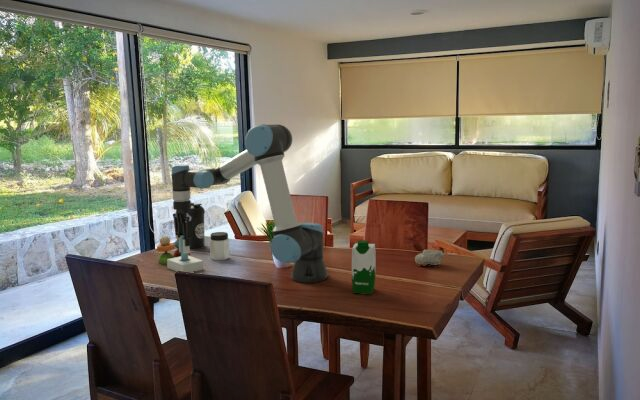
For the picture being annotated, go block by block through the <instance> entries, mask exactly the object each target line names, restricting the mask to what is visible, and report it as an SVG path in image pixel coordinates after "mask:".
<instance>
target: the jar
mask: <svg viewBox="0 0 640 400" xmlns="http://www.w3.org/2000/svg"><path fill="white" fill-rule="evenodd" d="M209 249H210V250H209V251H210V252H209V253H210V259H211V260H213V261H225V260H227V259H229V258H230V239H229V235H228V232H225V231H217V232H212V233H211V232H210V239H209Z"/></svg>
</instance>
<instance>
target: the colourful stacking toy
mask: <svg viewBox="0 0 640 400" xmlns="http://www.w3.org/2000/svg"><path fill="white" fill-rule="evenodd" d="M175 238H176V240H175V241H174V243H172V242H171V238H170V237H169V235H162V236H161V237H160V238H159V243H160V244H158V245H157V246H156V252H163V253H161V254H160V256H159V257H158V262H157V263H158V264H160V265H167V259H171V258H175V257H180V256H181V252H179V238H178V236H177V235H175ZM175 249H176V250H175ZM173 250H175V251H174V252H173V254H172V253H171V252H170V251H173ZM179 255H180V256H179ZM188 256H191V257H194V258H195V255H191V252H190V253H188Z"/></svg>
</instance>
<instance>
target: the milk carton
mask: <svg viewBox="0 0 640 400" xmlns="http://www.w3.org/2000/svg"><path fill="white" fill-rule="evenodd" d="M376 253H377V251H376V244H375V243H369V241H368V240H365V239H364V240H363V239H362V240H358V241H357V243H354V244H353V247H352V249H351V284H352V294H353V293H365V294H372V295H373V292H374V290H373V289H375V283H376V269H377V267H376V263H377V261H376V255H377V254H376Z"/></svg>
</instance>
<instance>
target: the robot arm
mask: <svg viewBox="0 0 640 400" xmlns="http://www.w3.org/2000/svg"><path fill="white" fill-rule="evenodd" d="M292 144H293V135H292V132H291V131H290V129H288V127H286V126H285V125H282V124H265V123H264V124H263V123H262V124H258V125H255V126H253V127H251V128H250V129H248V131H247V133H246V136H245V139H244V145H245V150H244V151H242V152H239V153H238V154H236V155H235V156H233V157H232V158H230V159H228V160H227V161H225V162H223V163H222V164H219V165H218V166H216V167H212V168H205V169H194V170H193V169H192V170H191V169H190V165H188V164H174V165H172V166H171V174H170V175H171V182H172V183H171V184H172V185H171V186H172V187H171V189H172V200H173V201H172V204H173V205H172V206H173V207H172V208H173V210H174V211H175V213H172V217H173V223H174V224H173V225H174V235H175V236H176V235H177V236H178V238H179V252H181V242H180V235H184V238H182V239H183V253H184V254H186V253H190V254H191V252H190V251H191V249H190V246H189V245H190V244H189V238H192V220H193V216H190V215H189V211H188V210H189V209H190V208H191V203H192V201H191V188H194V189H202V190H203V189H210V188H211V187H214V186H220V185H224V184H227V183H229V182H230V181H231V179H232V178H234V177H237V176H238V175H240V174H242V173H243V172H245V171H247V170H250V169H251V168H253V167H255V166H256V165H259V166H260V170H261V174H262V178H263V183H264V185H265V191H266V194H267V199H268V203H269V207H270V210H271V215H272V219H273V223H274V227H273V228H272V231H271V232H272V236H273V238H272V239H271V242H270V245H269V246H270V248H269V249H270V252H271V253H272V255H273V257H274V258H275V259H276V260H278V262H280V263H283V264H291V263H293V267H292V270H291V273H290V275H291V279H292V280H293V281H295V282H297V283H307V284H308V283H309V284H310V283H311V284H312V283H319V281H320V282H323V281H326V280H327V279H328V278H327V277H328V275H329V274H328V270H327V266H326V264H325V260H324V228H323V225H322V224H320V223H316V222H299V221H298V220H297V217H296V214H295V209H294V205H293V201H292V197H291V192H290V189H289V185H288V181H287V176H286V172H285V169H284V164H283V159H284V158H285V153H286V152H287V151H288V150H289V149H290V148H291V146H292ZM326 278H327V279H326ZM325 279H326V280H325Z"/></svg>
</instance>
